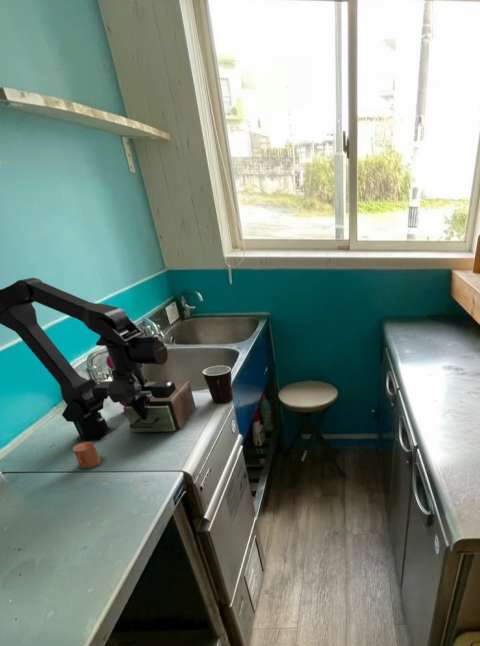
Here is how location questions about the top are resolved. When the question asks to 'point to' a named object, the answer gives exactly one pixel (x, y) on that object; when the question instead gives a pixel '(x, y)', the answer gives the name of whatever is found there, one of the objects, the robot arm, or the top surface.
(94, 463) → the orange cylinder
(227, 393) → the dark brown cup
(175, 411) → the cabinet
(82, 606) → the top surface
